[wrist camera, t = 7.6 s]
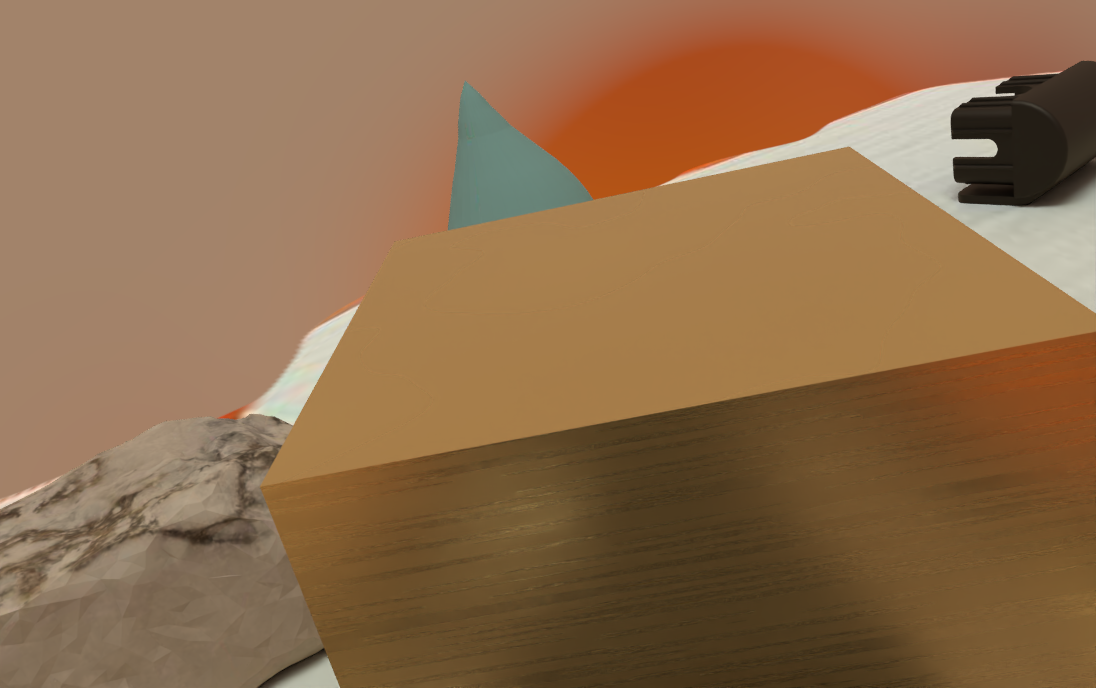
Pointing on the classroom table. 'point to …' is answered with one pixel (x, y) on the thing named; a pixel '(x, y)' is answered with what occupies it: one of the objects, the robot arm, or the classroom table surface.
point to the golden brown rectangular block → (704, 450)
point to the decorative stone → (154, 567)
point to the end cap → (1028, 136)
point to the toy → (503, 170)
